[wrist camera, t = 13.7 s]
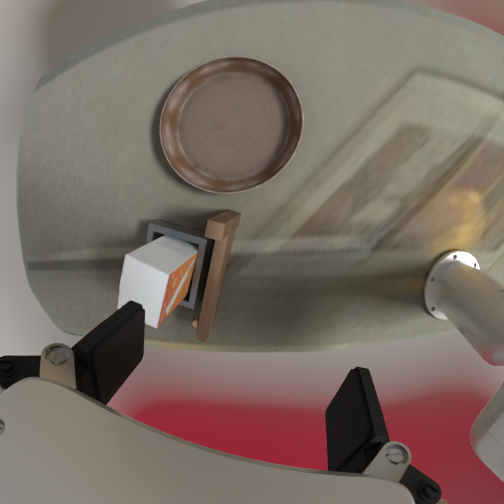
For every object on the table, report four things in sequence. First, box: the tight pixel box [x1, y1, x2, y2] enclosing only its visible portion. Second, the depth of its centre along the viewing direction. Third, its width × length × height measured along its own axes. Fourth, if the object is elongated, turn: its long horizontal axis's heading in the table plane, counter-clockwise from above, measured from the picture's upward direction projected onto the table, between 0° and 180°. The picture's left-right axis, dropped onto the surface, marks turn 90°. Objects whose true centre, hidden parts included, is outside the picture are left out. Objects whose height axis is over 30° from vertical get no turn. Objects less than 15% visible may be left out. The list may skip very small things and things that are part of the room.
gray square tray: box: [146, 219, 213, 309], centre depth 42 cm, size 10×12×4 cm
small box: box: [117, 235, 199, 329], centre depth 37 cm, size 8×6×13 cm
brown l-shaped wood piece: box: [192, 210, 241, 342], centre depth 38 cm, size 3×20×10 cm, turn 165°
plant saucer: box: [159, 56, 304, 194], centre depth 35 cm, size 21×21×3 cm
